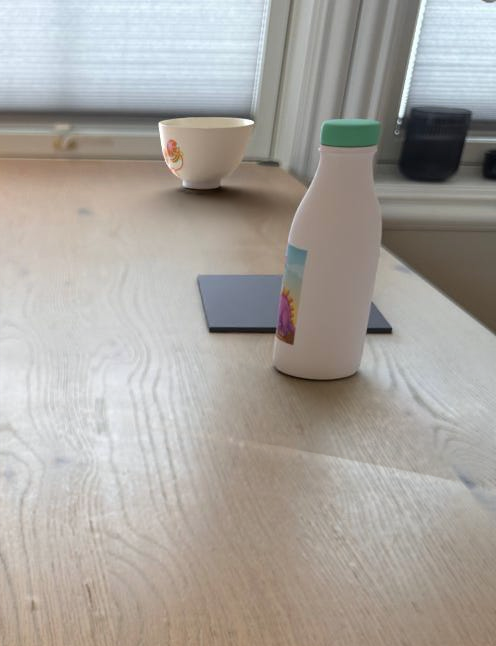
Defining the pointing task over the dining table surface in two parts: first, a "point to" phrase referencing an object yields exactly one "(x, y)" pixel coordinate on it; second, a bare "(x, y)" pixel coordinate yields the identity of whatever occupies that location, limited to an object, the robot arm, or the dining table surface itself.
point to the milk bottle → (332, 258)
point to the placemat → (254, 304)
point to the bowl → (204, 148)
